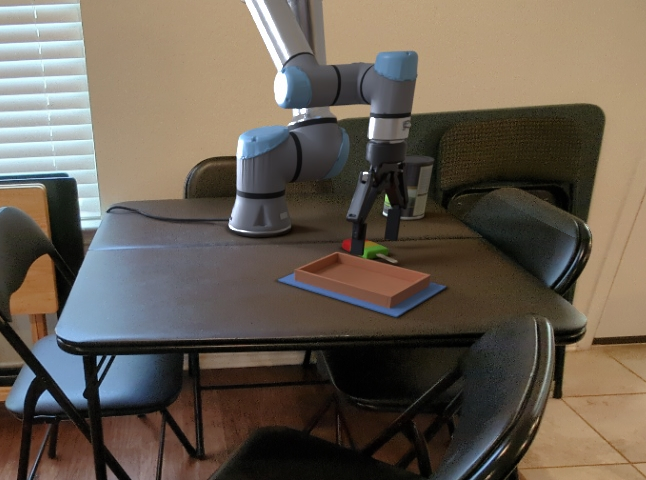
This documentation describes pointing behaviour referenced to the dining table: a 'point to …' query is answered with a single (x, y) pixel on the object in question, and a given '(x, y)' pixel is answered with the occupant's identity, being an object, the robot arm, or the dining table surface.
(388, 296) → the tray
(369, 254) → the popsicle
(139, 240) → the dining table surface
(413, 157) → the coffee can
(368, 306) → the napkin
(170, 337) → the dining table surface
